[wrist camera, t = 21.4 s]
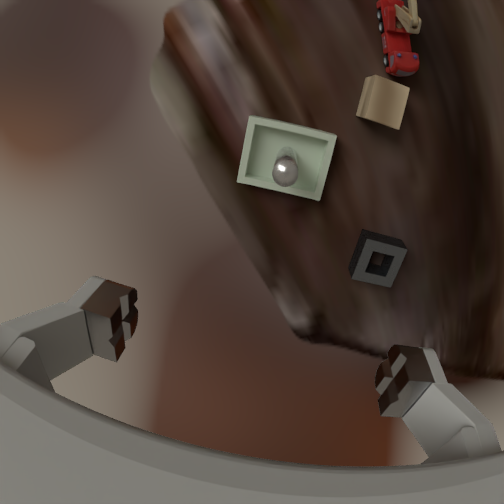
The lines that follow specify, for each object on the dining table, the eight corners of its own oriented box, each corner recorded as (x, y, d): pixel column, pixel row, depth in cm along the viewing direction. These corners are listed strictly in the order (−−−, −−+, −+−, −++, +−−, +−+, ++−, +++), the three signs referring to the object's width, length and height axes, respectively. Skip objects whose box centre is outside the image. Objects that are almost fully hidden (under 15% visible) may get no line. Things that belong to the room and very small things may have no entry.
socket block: (400, 239, 40) (407, 249, 37) (385, 276, 42) (390, 287, 40) (362, 229, 40) (366, 238, 37) (348, 267, 42) (351, 278, 40)
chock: (395, 89, 31) (409, 88, 26) (386, 126, 33) (399, 129, 29) (365, 78, 31) (375, 74, 26) (355, 115, 33) (365, 117, 29)
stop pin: (298, 149, 35) (300, 165, 28) (294, 168, 37) (295, 189, 29) (278, 144, 35) (275, 159, 28) (274, 163, 37) (269, 183, 29)
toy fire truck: (384, 76, 30) (412, 70, 22) (369, -21, 24) (390, -51, 16) (409, 78, 30) (443, 74, 21) (394, -18, 24) (420, -45, 15)
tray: (334, 133, 35) (336, 136, 32) (318, 194, 38) (319, 200, 36) (252, 115, 35) (249, 115, 33) (240, 177, 39) (236, 182, 36)
